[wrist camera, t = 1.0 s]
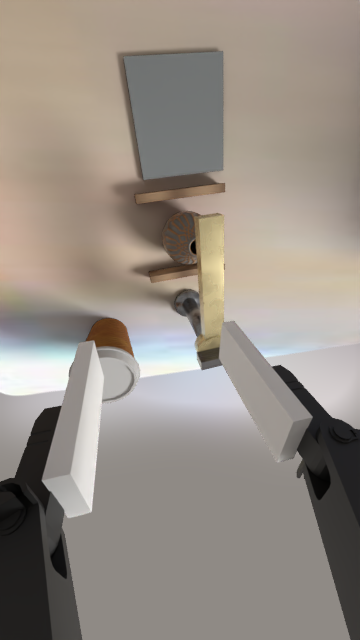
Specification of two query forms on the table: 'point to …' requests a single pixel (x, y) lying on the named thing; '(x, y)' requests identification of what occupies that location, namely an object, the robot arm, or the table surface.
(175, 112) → the mat
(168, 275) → the cradle
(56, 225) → the table surface
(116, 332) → the disposable coffee cup
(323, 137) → the table surface
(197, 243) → the latch
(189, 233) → the vase
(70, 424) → the robot arm
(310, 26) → the table surface
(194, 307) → the post
